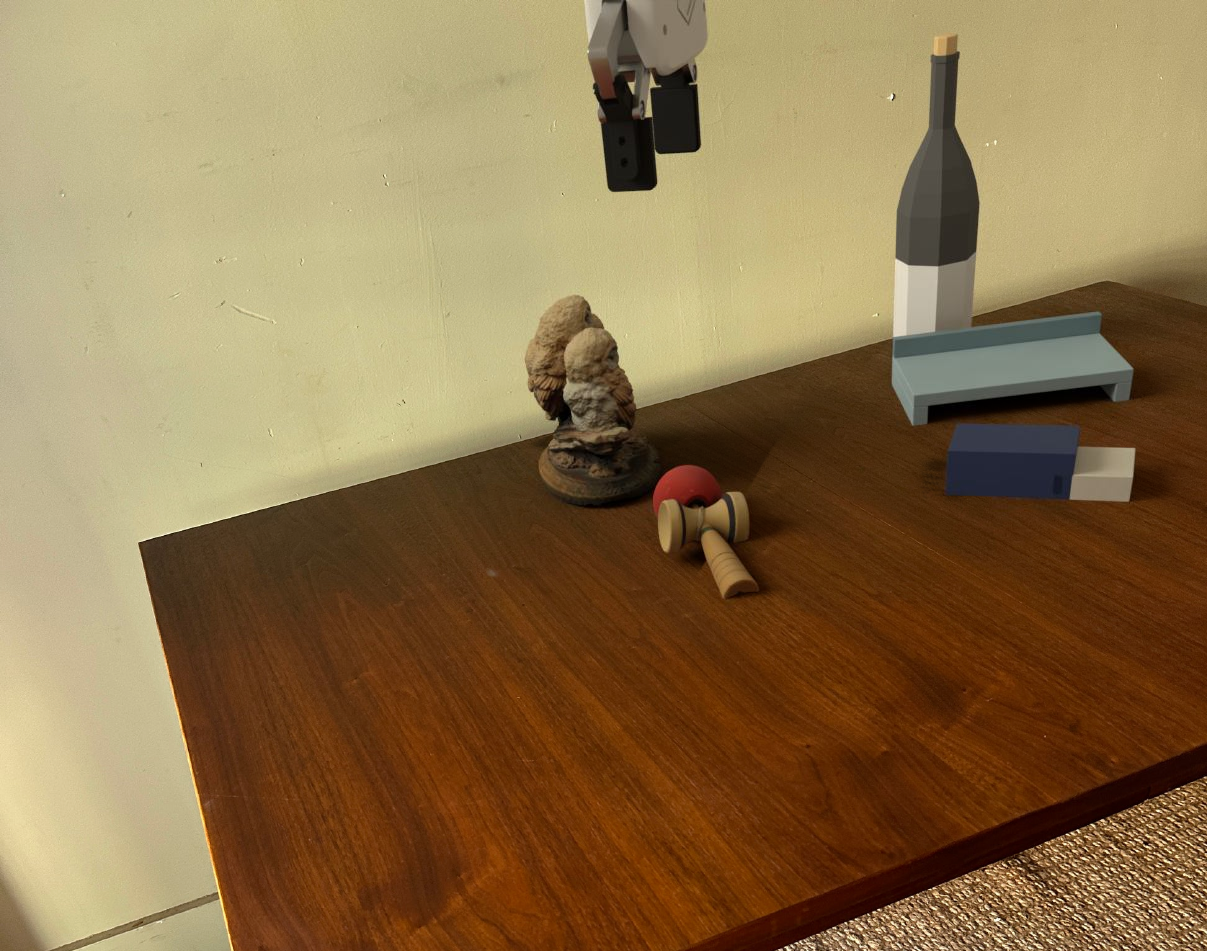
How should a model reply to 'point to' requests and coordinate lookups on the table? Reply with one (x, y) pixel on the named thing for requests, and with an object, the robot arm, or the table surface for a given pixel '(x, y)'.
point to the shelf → (1006, 362)
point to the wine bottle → (937, 216)
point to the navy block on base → (1035, 464)
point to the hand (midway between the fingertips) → (656, 170)
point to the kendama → (704, 523)
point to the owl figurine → (587, 410)
